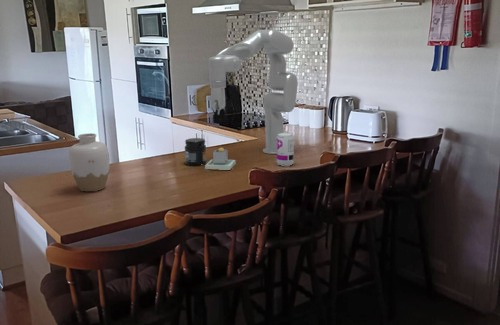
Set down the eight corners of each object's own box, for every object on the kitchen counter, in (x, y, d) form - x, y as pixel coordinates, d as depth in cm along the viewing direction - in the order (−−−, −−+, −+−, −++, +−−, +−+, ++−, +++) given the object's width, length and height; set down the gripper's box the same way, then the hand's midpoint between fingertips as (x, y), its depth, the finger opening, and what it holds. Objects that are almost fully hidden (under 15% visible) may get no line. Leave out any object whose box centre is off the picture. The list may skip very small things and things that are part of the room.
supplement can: (280, 167, 230) (280, 136, 227) (274, 163, 238) (274, 133, 234) (296, 165, 232) (296, 135, 229) (290, 161, 240) (290, 132, 236)
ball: (218, 152, 232) (219, 146, 232) (224, 154, 232) (225, 148, 232) (216, 153, 229) (218, 147, 229) (222, 154, 229) (224, 148, 229)
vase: (98, 181, 213) (93, 130, 208) (119, 187, 203) (115, 133, 198) (64, 190, 201) (58, 136, 196) (86, 197, 192) (80, 140, 186)
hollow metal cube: (216, 164, 235) (216, 149, 233) (227, 164, 234) (227, 149, 232) (213, 167, 230) (213, 152, 228) (225, 167, 229) (224, 152, 227)
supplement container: (209, 161, 244) (208, 138, 241) (202, 166, 234) (201, 142, 231) (190, 160, 247) (189, 137, 244) (182, 165, 237) (180, 141, 234)
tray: (211, 163, 239) (211, 159, 238) (235, 164, 237) (235, 159, 236) (205, 170, 228) (204, 165, 227) (230, 171, 225) (229, 166, 225)
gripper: (214, 82, 231) (216, 118, 236) (204, 86, 215) (206, 124, 219) (230, 82, 230) (231, 118, 234) (221, 86, 214) (222, 124, 218)
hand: (219, 121), depth 227 cm, fingers open, 9 cm apart
